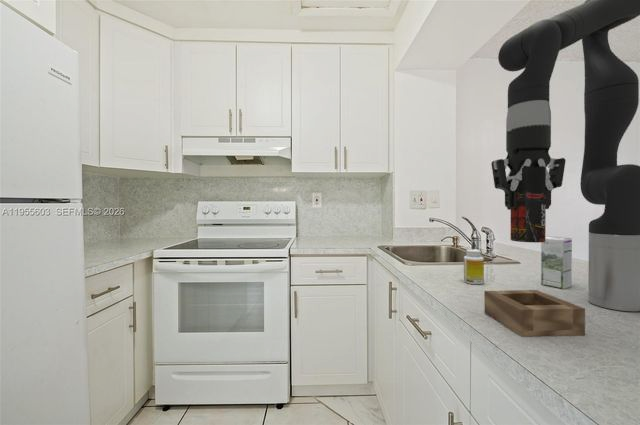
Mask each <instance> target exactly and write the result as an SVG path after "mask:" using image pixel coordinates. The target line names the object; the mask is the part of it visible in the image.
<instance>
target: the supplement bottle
mask: <svg viewBox="0 0 640 425" xmlns="http://www.w3.org/2000/svg"><path fill="white" fill-rule="evenodd" d="M484 265H485V258H484V257H483V256H482V251H481V250H479V249H467V250H466V255H464V256H463V281H464V283H466V284H470V285H482V284H484V282H485V271H484V270H485V266H484Z"/></svg>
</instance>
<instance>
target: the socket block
mask: <svg viewBox="0 0 640 425" xmlns="http://www.w3.org/2000/svg"><path fill="white" fill-rule="evenodd" d="M483 293H484V294H483V295H484V298H483V300H484V314H486V315H487V316H489V317H490V318H492V319H493V320H495V321H497V322H498V323H500V324H501V325H503V326H504V327H506V328H508V329H509V330H510V331H513V332H514V333H515V334H517V335H518V336H521V337H550V336H551V335H563V336H585V335H586V308H585V307H582V306H579V305H576V304H574V303H571V302H569V301H566V300H564V299H562V298H558V297H557V296H553V295H551V294H549V293H547V292H546V293H545V292H544V291H540V290H538V289H524V290H523V289H521V290H519V289H518V290H517V289H516V290H515V289H514V290H510V289H509V290H484V292H483ZM551 337H552V336H551Z"/></svg>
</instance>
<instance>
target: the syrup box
mask: <svg viewBox="0 0 640 425" xmlns="http://www.w3.org/2000/svg"><path fill="white" fill-rule="evenodd" d="M572 252H573V239H572V237H561V236H549V235H548V236H547V235H545V242H540V259H541V260H540V262H541V263H540V266H541V267H540V272H541V273H540V274H541V275H540V276H541V277H540V278H541V281H540V282H541V284H540V285H542V286H547V287H552V288H557V289H562V290H565V289H568V288H571V287H572V286H573V276H572V274H573V273H572V272H573V271H572V270H573V269H572V266H573V265H572V264H573V260H572V259H573V257H572V255H573V254H572Z"/></svg>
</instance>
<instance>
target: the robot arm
mask: <svg viewBox="0 0 640 425" xmlns="http://www.w3.org/2000/svg"><path fill="white" fill-rule="evenodd" d="M639 16H640V0H585V1H584V2H583V3H582V4H580V5H579V4H578V5H576V6H574V7H572V8H570V9H568V10H565V11H563V12H560V13H558V14H555V15H553V16H552V17H550V18H548V19H547V18H546V19H541V20H538V21H536V22H534V23H533V24H531V25H530V26H528V27H526V28H525V29H523V30H521V31H520V32H518V33H516V34H514V35H513V36H511V37H510V38H508V39H506V40H505V42H504V43H503V44H502V45H501V47H500V49H499V51H498V56H497V59H498V63H499V65H500V67H501V68H502V69H503V70H505V71H507V72H519V71H521V70H523V71H522V72H521V73H520V74H519V75H518V76H516V77H515V78H514V79H513V80H511V81H510V83H509V84H508V87H507V112H506V121H505V122H506V123H505V124H506V126H505V135H506V136H505V139H506V140H505V142H506V143H505V144H506V145H505V147H506V148H505V150H506V152H507V155H506V158H504V159H502V158H500V159H496V160H493V161H491V172H492V176H493V177H492V178H493V185H494V188H495V189H497V190H502V191H503V192H504V205H505V208H506V209H507V210H508V211H509V210H510V211H511V210H516V209H517V192H515V190H516V188H517V186H518V184H519V181H521V180H522V175H521V174H522V168H524V167H546V210H549V208H550V207H551V205H552V192H553V190H554V189H556V188H557V189H558V188H561V187H562V185H563V181H564V180H563V179H564V175H565V174H564V173H565V168H566V161H567V160H566V159H565V158H564V157H560V158H553V157H551V156H550V153H549V150H550V148H551V147H552V135H551V134H552V112H551V111H552V109H551V106H550V105H551V104H550V87H551V86H550V83H551V82H550V81H551V78H552V75H553V73H554V69H555V65H556V63H557V59H558V57H559V53H560V51H562V50H564V49H566V48H568V47H569V46H572V45H574V44H575V43H577V42H579V41H581V44H582V45H581V46H582V51H583V62H584V64H583V65H584V68H583V69H584V93H583V96H584V98H583V100H584V101H583V102H584V103H583V104H584V105H583V106H584V107H583V108H584V110H583V111H584V147H583V158H582V159H583V160H582V168H581V175H580V186H579V187H580V192H581V195H582V197H583V198H584V199H585V200H586V201H587V202H588V203H590V204H593V205H598V206H599V205H600V206H601V205H603V206H604V208H603V209H604V211H603V213H602V214H601V215H599V217H597V218H595V219H592V220H590V222H589V223H588V280H587V281H588V282H587V283H588V285H587V286H588V289H587V290H588V291H587V292H588V299H587V300H588V302H589V303H590V304H593V305H594V306H599V307H602V308H604V309H605V308H606V309H610V310H616V311H623V312H640V165H638V164H632V163H627V164H620V165H618V151H619V147H620V143H621V142H622V138H623V137H624V135H625V133H626V132H627V130H628V129H629V127H630V125H631V123H632V122H633V119H634V117H635V116H636V113H637V111H638V108H639V102H640V99H639V96H640V93H639V91H640V89H639V88H640V82H639V76H638V75H637V73H636V72H635V71H634V70H633V69H632V68H631V67H630V66H629V65H628V64H627V63H625V61H623V60H621V58H619V56H617V55H615V53H614V52H613V51H612V49H611V47H610V43H609V33H610V32H609V31H611V30H613V29H615V28H617V27H620V26H621V25H623V24H626V23H629V22H630V21H632V20H634V19H635V18H637V17H639ZM507 168H509V172H508V174H507V173H506V171H507V170H506V169H507ZM518 168H520V169H519V171H518V173H517V174H516V175H515V176H511V171H513V170H515V171H517V170H518ZM547 168H548V169H549V170H548V169H547Z"/></svg>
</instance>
